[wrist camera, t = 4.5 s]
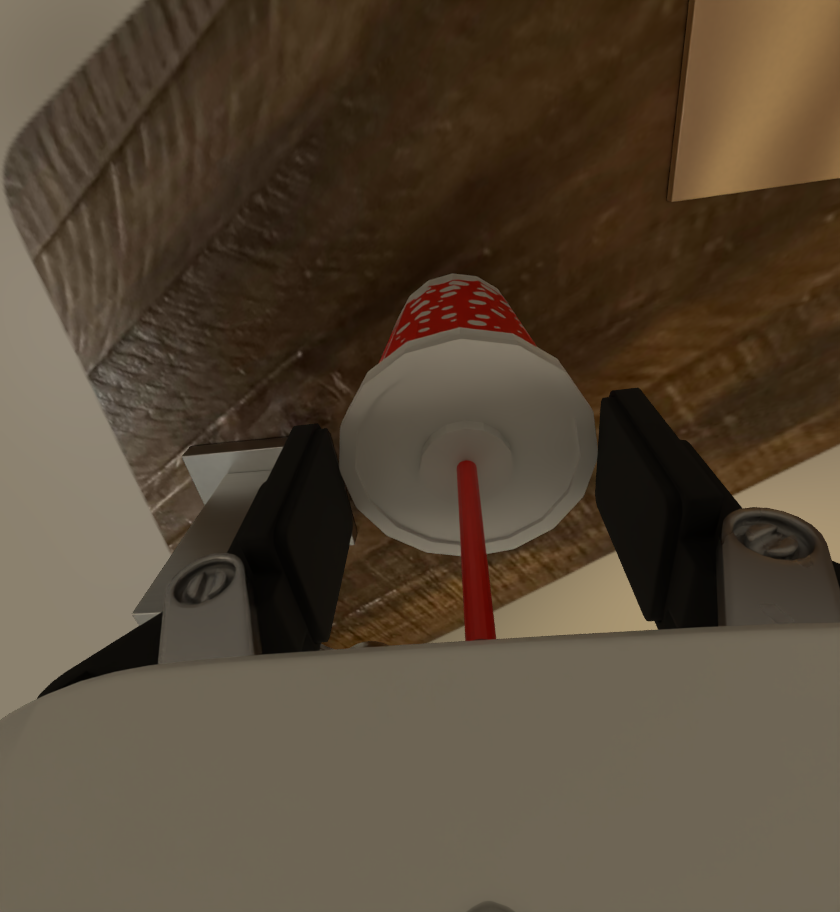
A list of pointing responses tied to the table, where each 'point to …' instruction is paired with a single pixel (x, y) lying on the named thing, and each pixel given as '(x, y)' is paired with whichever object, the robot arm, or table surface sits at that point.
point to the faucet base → (216, 506)
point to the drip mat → (757, 97)
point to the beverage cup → (466, 435)
